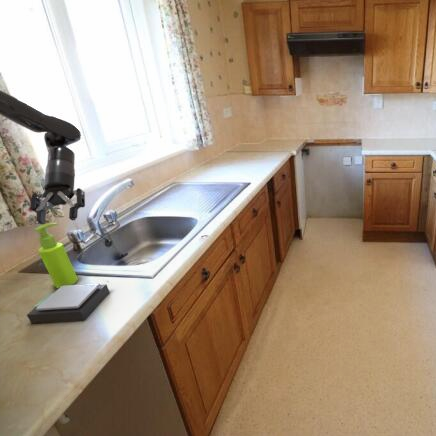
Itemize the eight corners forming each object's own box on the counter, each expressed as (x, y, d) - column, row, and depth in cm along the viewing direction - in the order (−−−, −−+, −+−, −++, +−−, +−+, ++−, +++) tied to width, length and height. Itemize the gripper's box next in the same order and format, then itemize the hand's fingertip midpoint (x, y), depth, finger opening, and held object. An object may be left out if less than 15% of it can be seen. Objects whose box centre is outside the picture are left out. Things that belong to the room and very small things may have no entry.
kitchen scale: (29, 323, 86) (23, 311, 84) (61, 295, 97) (56, 284, 95) (84, 320, 86) (78, 308, 85) (109, 292, 97) (105, 281, 96)
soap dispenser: (85, 277, 105) (61, 222, 96) (62, 290, 99) (34, 232, 91) (74, 274, 107) (50, 219, 99) (51, 285, 102) (23, 229, 93)
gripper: (27, 173, 102) (22, 220, 97) (78, 168, 105) (75, 214, 100) (43, 184, 109) (39, 228, 104) (90, 179, 112) (88, 222, 107)
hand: (57, 221), depth 102 cm, fingers open, 8 cm apart
